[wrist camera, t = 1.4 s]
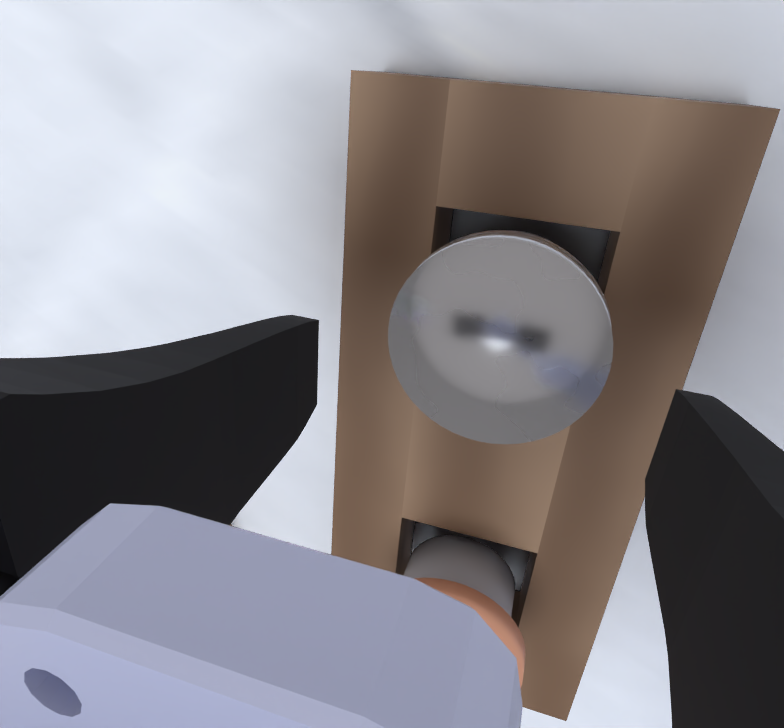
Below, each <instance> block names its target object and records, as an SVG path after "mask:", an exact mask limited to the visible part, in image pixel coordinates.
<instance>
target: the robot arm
mask: <svg viewBox="0 0 784 728" xmlns="http://www.w3.org/2000/svg"><path fill="white" fill-rule="evenodd" d="M318 331H319V320H315V319H310V318H305V317H300V316H295V315H286V316H279V317H274V318H269V319H265V320H261V321H257V322H253V323H249V324H245V325H241V326H237V327H234V328H230V329H226V330H222V331H219V332H215V333H211V334H207V335H202V336H198V337H194V338H189V339H185V340H181V341H176V342H172V343H168V344H162V345H157V346H152V347H146V348H140V349H133V350H126V351H119V352H111V353H101V354H89V355H76V356H64V357H48V358H0V728H520V725H521V715H522V698H521V690H520V682H519V674H518V666H517V659H516V657H515V656H514V655H513V654H512V652H511V651H510V650H509V649H508V648H507V647H506V645H505V644H504V643H503V642H502V641H501V640H500V638H499V637H498V636H497V635H496V634H495V633H494V631H493V630H492V629H491V628H490V627H489V626H488V625H487V623H486V622H485V621H484V620H483V619H482V618H481V616H480V615H479V614H478V613H477V612H476V611H475V610H474V609H473V608H471V607H470V606H468V605H466V604H464V603H462V602H460V601H458V600H456V599H454V598H452V597H450V596H448V595H446V594H444V593H442V592H440V591H438V590H436V589H434V588H432V587H430V586H428V585H426V584H424V583H422V582H420V581H418V580H416V579H414V578H411V577H407V576H404V575H400V574H397V573H393V572H390V571H386V570H383V569H379V568H376V567H372V566H369V565H365V564H362V563H358V562H355V561H351V560H348V559H344V558H341V557H337V556H334V555H331V554H327V553H324V552H320V551H317V550H313V549H310V548H306V547H303V546H299V545H296V544H292V543H289V542H285V541H282V540H278V539H275V538H271V537H268V536H264V535H261V534H257V533H254V532H250V531H247V530H244V529H240V528H237V527H233V526H230V524H231V523H232V521H233V520H234V519H235V517H236V516H237V514H238V513H239V512H240V510H241V509H242V508H243V507H244V506H245V504H246V503H247V502H248V501H249V499H250V498H251V497H252V496H253V494H254V493H255V492H256V491H257V489H258V488H259V487H260V486H261V484H262V483H263V482H264V481H265V480H266V478H267V477H268V476H269V475H270V473H271V472H272V471H273V470H274V468H275V467H276V466H277V465H278V463H279V462H280V461H281V460H282V458H283V457H284V456H285V455H286V453H287V452H288V451H289V449H290V448H291V447H292V446H293V444H294V443H295V442H296V440H297V439H298V437H299V436H300V434H301V432H302V431H303V429H304V427H305V426H306V424H307V422H308V420H309V418H310V416H311V415H312V413H313V411H314V409H315V407H316V405H317V378H318ZM645 516H646V529H647V535H648V541H649V546H650V552H651V558H652V564H653V569H654V574H655V580H656V585H657V591H658V596H659V602H660V607H661V613H662V618H663V624H664V629H665V636H666V644H667V651H668V662H669V678H670V694H671V710H672V728H784V451H783V450H781V449H780V448H779V447H778V446H776V445H775V444H774V443H773V442H771V441H770V440H769V439H768V438H766V437H765V436H764V435H763V434H762V433H760V432H759V431H758V430H757V429H755V428H754V427H753V426H752V425H751V424H749V423H748V422H747V421H746V420H744V419H743V418H742V417H741V416H739V415H738V414H737V413H736V412H734V411H733V410H732V409H731V408H729V407H728V406H727V405H725V404H724V403H722V402H721V401H720V400H718V399H716V398H715V397H713V396H709V395H704V394H699V393H693V392H688V391H683V390H678V389H676V390H675V393H674V396H673V399H672V402H671V405H670V408H669V411H668V414H667V417H666V419H665V422H664V425H663V428H662V431H661V434H660V437H659V440H658V443H657V446H656V449H655V451H654V454H653V457H652V460H651V463H650V466H649V469H648V472H647V475H646V478H645Z"/></svg>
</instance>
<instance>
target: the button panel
mask: <svg viewBox="0 0 784 728" xmlns="http://www.w3.org/2000/svg"><path fill="white" fill-rule="evenodd" d="M779 111H780V109H775V108H768V107H761V106H753V105H745V104H734V103H722V102H711V101H700V100H689V99H678V98H667V97H656V96H645V95H634V94H623V93H612V92H600V91H589V90H578V89H567V88H556V87H545V86H534V85H523V84H512V83H501V82H490V81H478V80H467V79H456V78H445V77H434V76H423V75H412V74H401V73H390V72H375V71H355V70H351V87H350V111H349V136H348V160H347V185H346V209H345V234H344V258H343V283H342V307H341V332H340V356H339V381H338V405H337V430H336V454H335V479H334V503H333V528H332V552H331V555H334V556H337V557H341V558H344V559H348V560H351V561H355V562H358V563H362V564H365V565H369V566H372V567H376V568H379V569H383V570H386V571H390V572H393V573H397V574H400V575H404V573H405V570H406V567H407V564H408V562H409V559H410V554H411V546H412V538H413V530H414V522H415V521H417V522H421V523H424V524H428V525H432V526H436V527H440V528H443V529H447V530H451V531H455V532H458V533H462V534H466V535H470V536H473V537H477V538H481V539H485V540H488V541H492V542H496V543H500V544H504V545H507V546H511V547H515V548H519V549H522V550H526V551H530V555H529V559H528V563H527V567H526V571H525V575H524V579H523V583H522V587H521V591H520V592H519V591H516V590H515V593H514V600H513V608H512V615H511V618H512V619H513V620H514V622H515V623H516V625H517V626H518V628H519V630H520V632H521V634H522V637H523V639H524V644H525V654H526V656H525V665H524V675H523V682H522V686H521V689H520V690H521V698H522V707H525V708H528V709H531V710H534V711H537V712H540V713H543V714H546V715H549V716H552V717H555V718H558V719H562V720H565V721H566V720H567V717H568V714H569V712H570V709H571V706H572V703H573V700H574V697H575V694H576V692H577V689H578V686H579V683H580V680H581V677H582V674H583V672H584V669H585V666H586V663H587V660H588V657H589V654H590V652H591V649H592V646H593V643H594V640H595V637H596V634H597V632H598V629H599V626H600V623H601V620H602V617H603V614H604V612H605V609H606V606H607V603H608V600H609V597H610V594H611V592H612V589H613V586H614V583H615V580H616V577H617V574H618V572H619V569H620V566H621V563H622V560H623V557H624V554H625V551H626V549H627V546H628V543H629V540H630V537H631V534H632V531H633V529H634V526H635V523H636V520H637V517H638V514H639V511H640V509H641V506H642V503H643V500H644V497H645V478H646V475H647V472H648V469H649V466H650V463H651V460H652V457H653V454H654V451H655V449H656V446H657V443H658V440H659V437H660V434H661V431H662V428H663V425H664V422H665V419H666V417H667V414H668V411H669V408H670V405H671V402H672V399H673V396H674V393H675V390H676V389H678V390H682V389H683V386H684V383H685V380H686V377H687V374H688V371H689V369H690V366H691V363H692V360H693V357H694V354H695V351H696V349H697V346H698V343H699V340H700V337H701V334H702V331H703V329H704V326H705V323H706V320H707V317H708V314H709V311H710V309H711V306H712V303H713V300H714V297H715V294H716V291H717V288H718V286H719V283H720V280H721V277H722V274H723V271H724V268H725V266H726V263H727V260H728V257H729V254H730V251H731V248H732V246H733V243H734V240H735V237H736V234H737V231H738V228H739V226H740V223H741V220H742V217H743V214H744V211H745V208H746V206H747V203H748V200H749V197H750V194H751V191H752V188H753V186H754V183H755V180H756V177H757V174H758V171H759V168H760V166H761V163H762V160H763V157H764V154H765V151H766V148H767V146H768V143H769V140H770V137H771V134H772V131H773V128H774V126H775V123H776V120H777V117H778V114H779ZM453 209H460V210H468V211H475V212H482V213H489V214H496V215H503V216H510V217H517V218H524V219H532V220H539V221H546V222H553V223H560V224H567V225H574V226H581V227H588V228H596V229H603V230H610V235H609V239H608V243H607V247H606V251H605V255H604V259H603V263H602V267H601V271H600V275H599V279H598V285H599V287H600V288H601V290H602V293H603V295H604V297H605V300H606V302H607V305H608V309H609V313H610V318H611V327H612V336H613V358H612V363H611V368H610V372H609V375H608V378H607V381H606V383H605V385H604V387H603V389H602V391H601V393H600V395H599V397H598V398H597V399H596V401H595V402H594V403H593V405H592V406H591V407H590V408H589V409H588V410H587V411H586V412H585V413H584V414H583V415H582V416H581V417H580V418H579V419H578V420H576V421H575V422H574V423H572V424H571V425H570V426H568V427H566V428H565V429H563V430H561V431H560V432H558V433H555V434H553V435H551V436H548V437H546V438H543V439H539V440H536V441H532V442H526V443H520V444H492V443H486V442H480V441H476V440H472V439H469V438H465V437H463V436H460V435H458V434H455V433H453V432H451V431H449V430H447V429H445V428H444V427H442V426H440V425H439V424H437V423H436V422H434V421H433V420H431V419H430V418H429V417H428V416H427V415H425V414H424V413H423V412H422V411H421V410H420V409H419V408H418V407H417V406H416V405H415V404H414V403H413V402H412V400H411V399H410V398H409V396H408V395H407V394H406V392H405V391H404V389H403V388H402V386H401V384H400V382H399V380H398V379H397V376H396V374H395V371H394V369H393V366H392V362H391V358H390V354H389V346H388V326H389V319H390V314H391V311H392V308H393V304H394V302H395V300H396V298H397V295H398V293H399V291H400V290H401V288H402V287H403V285H404V283H405V282H406V280H407V279H408V278H409V277H410V276H411V275H412V273H413V272H414V271H415V270H416V269H417V268H418V267H419V265H420V264H421V263H422V262H423V261H424V260H425V259H426V258H427V257H429V256H430V255H431V254H432V253H433V252H434V251H436V250H437V249H439V248H440V247H442V246H444V245H445V244H447V243H449V240H450V232H451V224H452V216H453Z"/></svg>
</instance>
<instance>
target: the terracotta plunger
mask: <svg viewBox="0 0 784 728" xmlns="http://www.w3.org/2000/svg"><path fill="white" fill-rule="evenodd" d="M404 576H407V577H411V578H414V579H416V580H418V581H420V582H422V583H424V584H426V585H428V586H430V587H432V588H434V589H436V590H438V591H440V592H442V593H444V594H446V595H448V596H450V597H452V598H454V599H456V600H458V601H460V602H462V603H464V604H466V605H468V606H470V607H471V608H473V609H474V610H475V611H476V612H477V613H478V614H479V615H480V616H481V618H482V619H483V620H484V621H485V622H486V623H487V625H488V626H489V627H490V628H491V629H492V630H493V631H494V633H495V634H496V635H497V636H498V637H499V638H500V640H501V641H502V642H503V643H504V644H505V645H506V647H507V648H508V649H509V650H510V651H511V652H512V654H513V655H514V656H515V657H516V659H517V666H518V674H519V682H520V689H521V686H522V682H523V675H524V665H525V656H526V654H525V644H524V639H523V637H522V634H521V632H520V630H519V628H518V626H517V625H516V623H515V622H514V620H513V619H512V618H511V615H512V608H513V600H514V593H515V581H514V576H513V574H512V571H511V569H510V568H509V566H508V565H507V563H506V562H505V560H504V559H503V558H502V557H501V556H500V555H499V554H497V553H496V552H495V551H494V550H492V549H491V548H490V547H488V546H486V545H484V544H483V543H480V542H478V541H476V540H473V539H470V538H466V537H461V536H453V535H446V536H438V537H434V538H431V539H428V540H426V541H424V542H422V543H421V544H420V545H418V546H417V547H416V549H415V550H414V551H413V553H412V554H411V557H410V559H409V562H408V564H407V567H406V570H405V573H404Z"/></svg>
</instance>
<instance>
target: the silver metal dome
mask: <svg viewBox="0 0 784 728" xmlns="http://www.w3.org/2000/svg"><path fill="white" fill-rule="evenodd" d="M388 346H389V354H390V358H391V362H392V366H393V369H394V371H395V374H396V376H397V379H398V380H399V382H400V384H401V386H402V388H403V389H404V391H405V392H406V394H407V395H408V396H409V398H410V399H411V400H412V402H413V403H414V404H415V405H416V406H417V407H418V408H419V409H420V410H421V411H422V412H423V413H424V414H425V415H427V416H428V417H429V418H430V419H431V420H433V421H434V422H436V423H437V424H439V425H440V426H442V427H444V428H445V429H447V430H449V431H451V432H453V433H455V434H458V435H460V436H463V437H465V438H469V439H472V440H476V441H480V442H486V443H492V444H520V443H526V442H532V441H536V440H539V439H543V438H546V437H548V436H551V435H553V434H555V433H558V432H560V431H561V430H563V429H565V428H566V427H568V426H570V425H571V424H572V423H574V422H575V421H576V420H578V419H579V418H580V417H581V416H582V415H583V414H584V413H585V412H586V411H587V410H588V409H589V408H590V407H591V406H592V405H593V403H594V402H595V401H596V399H597V398H598V397H599V395H600V393H601V391H602V389H603V387H604V385H605V383H606V381H607V378H608V375H609V372H610V368H611V363H612V358H613V336H612V327H611V318H610V313H609V309H608V305H607V302H606V300H605V297H604V295H603V293H602V290H601V288H600V287H599V285H598V283H597V282H596V280H595V278H594V277H593V276H592V274H591V273H590V272H589V271H588V270H587V268H586V267H585V266H584V265H583V264H582V263H581V262H580V261H579V260H578V259H577V258H575V257H574V256H573V255H572V254H570V253H569V252H568V251H566V250H565V249H563V248H562V247H560V246H558V245H556V244H555V243H553V242H552V241H550V240H548V239H546V238H544V237H542V236H539V235H537V234H534V233H530V232H525V231H515V230H511V231H508V230H492V231H483V232H477V233H472V234H469V235H466V236H463V237H460V238H457V239H455V240H453V241H451V242H449V243H447V244H445V245H444V246H442V247H440V248H439V249H437V250H436V251H434V252H433V253H432V254H431V255H430V256H429V257H427V258H426V259H425V260H424V261H423V262H422V263H421V264H420V265H419V267H418V268H417V269H416V270H415V271H414V272H413V273H412V275H411V276H410V277H409V278H408V279H407V280H406V282H405V283H404V285H403V287H402V288H401V290H400V291H399V293H398V295H397V298H396V300H395V302H394V304H393V308H392V311H391V314H390V319H389V326H388Z"/></svg>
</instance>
